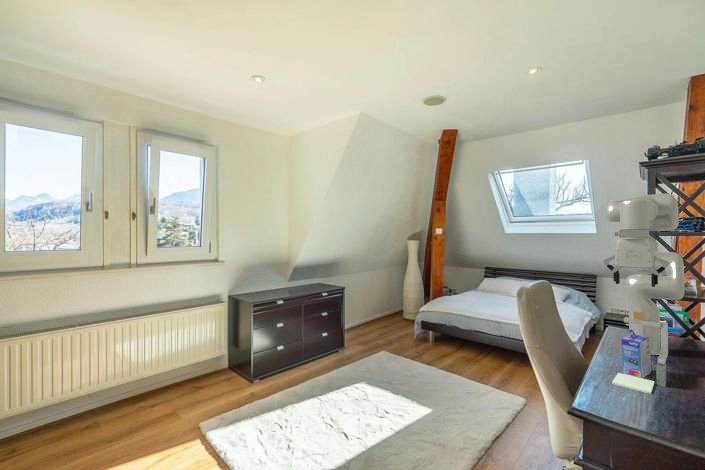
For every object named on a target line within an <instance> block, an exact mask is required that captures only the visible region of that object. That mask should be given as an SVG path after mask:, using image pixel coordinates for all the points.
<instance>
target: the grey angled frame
mask: <svg viewBox="0 0 705 470" xmlns="http://www.w3.org/2000/svg"><path fill="white" fill-rule="evenodd" d="M633 314H634V318H629V316H628V317H624V318H623V323H628V324H629V323H633V324H640V325H647V326H654V327H660V348H661V351H660V354H659V356H657V362H658V363H660V364H666V361H667V358H668V355H669V336H668V335H669V332H668V330H669V327H668V322H664V321H663V322H662V321H660V322H657V321H650V320H645V315H644V313H642V312H633Z"/></svg>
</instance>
